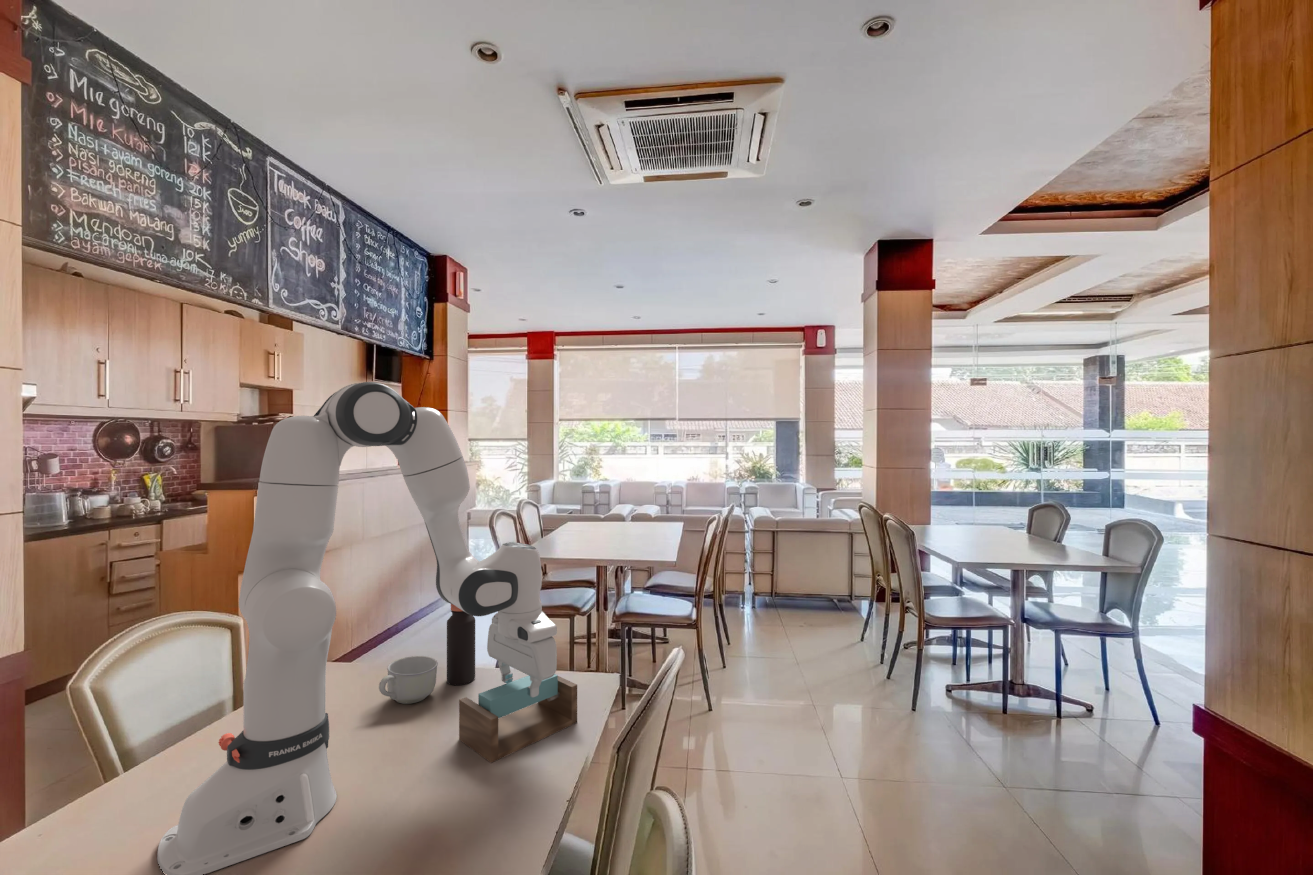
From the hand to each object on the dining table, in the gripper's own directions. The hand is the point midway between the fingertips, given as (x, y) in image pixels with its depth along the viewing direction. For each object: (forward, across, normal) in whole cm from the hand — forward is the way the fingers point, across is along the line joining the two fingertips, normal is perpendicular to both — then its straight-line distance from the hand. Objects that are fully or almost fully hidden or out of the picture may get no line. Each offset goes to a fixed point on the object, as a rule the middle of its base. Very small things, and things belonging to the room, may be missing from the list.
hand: (519, 688), depth 116 cm
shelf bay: (+9, 0, 0) cm, 9 cm away
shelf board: (+3, 0, 0) cm, 3 cm away
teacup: (+9, -31, -10) cm, 34 cm away
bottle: (+9, -32, +4) cm, 33 cm away
